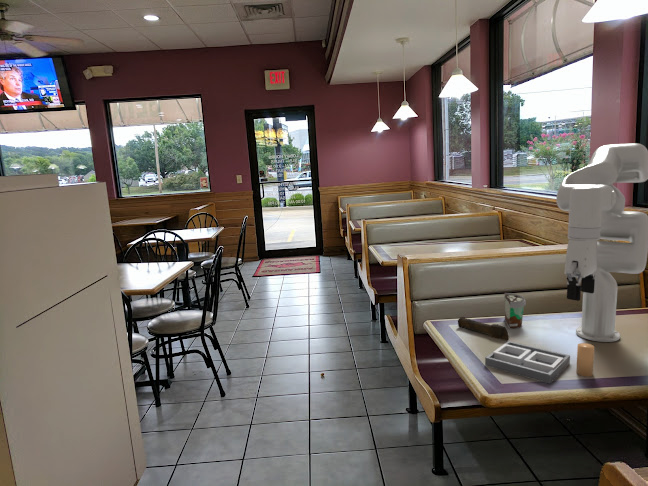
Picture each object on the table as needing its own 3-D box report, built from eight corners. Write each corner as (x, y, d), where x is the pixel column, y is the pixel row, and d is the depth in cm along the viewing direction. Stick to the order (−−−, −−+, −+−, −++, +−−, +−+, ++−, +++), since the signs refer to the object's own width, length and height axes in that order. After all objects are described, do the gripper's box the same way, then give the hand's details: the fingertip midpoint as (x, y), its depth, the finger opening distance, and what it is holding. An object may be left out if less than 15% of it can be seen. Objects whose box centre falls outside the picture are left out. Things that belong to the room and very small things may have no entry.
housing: (508, 348, 148) (508, 339, 147) (569, 363, 135) (570, 353, 135) (485, 365, 136) (485, 355, 136) (549, 383, 124) (550, 373, 123)
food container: (528, 330, 162) (529, 302, 160) (510, 329, 163) (510, 302, 162) (521, 318, 174) (522, 292, 172) (503, 318, 175) (504, 292, 173)
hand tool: (456, 328, 168) (456, 316, 167) (464, 325, 170) (464, 313, 169) (503, 343, 152) (503, 330, 152) (510, 340, 155) (510, 327, 154)
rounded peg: (578, 368, 132) (580, 342, 130) (594, 372, 129) (596, 345, 128) (574, 373, 129) (575, 346, 128) (590, 378, 126) (591, 350, 125)
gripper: (581, 228, 132) (578, 287, 135) (555, 236, 121) (552, 300, 124) (610, 230, 127) (607, 292, 129) (586, 238, 115) (583, 305, 118)
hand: (580, 295), depth 126 cm, fingers open, 9 cm apart
